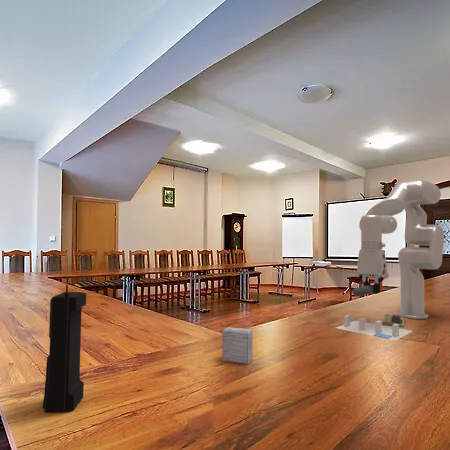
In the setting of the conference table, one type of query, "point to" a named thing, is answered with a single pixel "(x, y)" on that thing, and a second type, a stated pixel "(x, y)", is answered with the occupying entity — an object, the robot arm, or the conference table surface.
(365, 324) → the board
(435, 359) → the conference table surface
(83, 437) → the conference table surface
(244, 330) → the medicine box
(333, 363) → the conference table surface
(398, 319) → the computer
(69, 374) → the portable radio
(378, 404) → the conference table surface
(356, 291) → the dark grey rounded peg
